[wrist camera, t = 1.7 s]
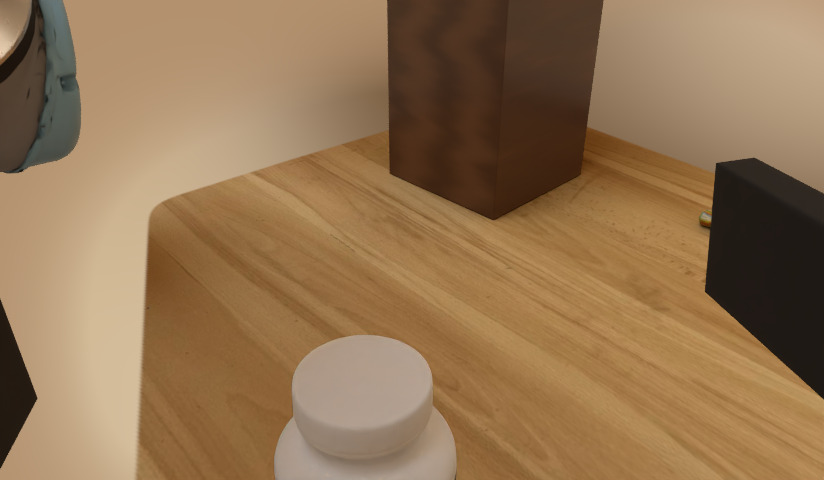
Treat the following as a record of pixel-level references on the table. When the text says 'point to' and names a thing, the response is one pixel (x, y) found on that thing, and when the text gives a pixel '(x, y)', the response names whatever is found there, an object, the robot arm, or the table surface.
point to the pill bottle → (364, 416)
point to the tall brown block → (490, 96)
